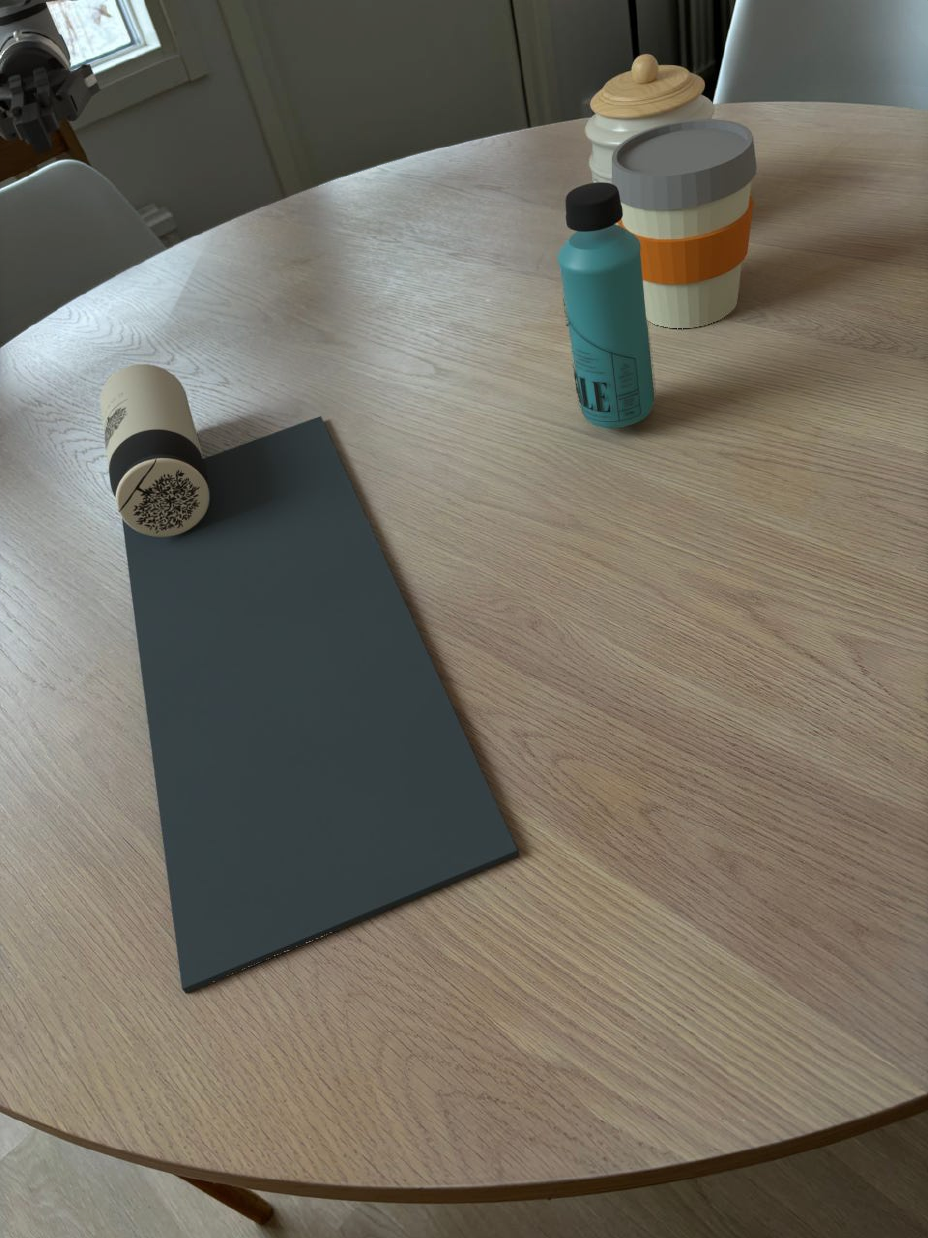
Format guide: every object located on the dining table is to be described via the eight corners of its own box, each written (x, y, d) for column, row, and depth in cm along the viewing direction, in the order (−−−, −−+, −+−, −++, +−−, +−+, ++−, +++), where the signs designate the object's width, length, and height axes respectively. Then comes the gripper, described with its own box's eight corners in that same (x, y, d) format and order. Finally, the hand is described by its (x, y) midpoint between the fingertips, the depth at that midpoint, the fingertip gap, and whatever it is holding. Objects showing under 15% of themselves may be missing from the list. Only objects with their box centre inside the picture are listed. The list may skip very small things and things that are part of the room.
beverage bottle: (667, 403, 87) (649, 168, 73) (644, 449, 83) (620, 209, 69) (595, 398, 90) (565, 171, 76) (569, 442, 86) (533, 210, 72)
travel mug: (204, 397, 98) (232, 493, 85) (149, 453, 100) (169, 556, 87) (137, 345, 93) (157, 439, 80) (81, 405, 95) (91, 506, 82)
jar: (594, 216, 116) (574, 49, 104) (709, 194, 114) (702, 21, 102) (601, 267, 107) (580, 90, 95) (726, 245, 105) (721, 61, 93)
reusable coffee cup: (728, 345, 91) (723, 179, 81) (602, 331, 98) (583, 175, 87) (776, 278, 98) (777, 116, 88) (655, 269, 104) (644, 117, 94)
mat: (185, 994, 56) (181, 989, 56) (120, 493, 94) (117, 488, 94) (519, 855, 58) (518, 850, 58) (322, 420, 96) (320, 415, 96)
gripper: (-43, 59, 106) (-56, 115, 89) (77, 22, 108) (87, 70, 90) (-6, 133, 111) (-12, 199, 94) (108, 97, 113) (123, 156, 96)
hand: (36, 136), depth 92 cm, fingers closed
